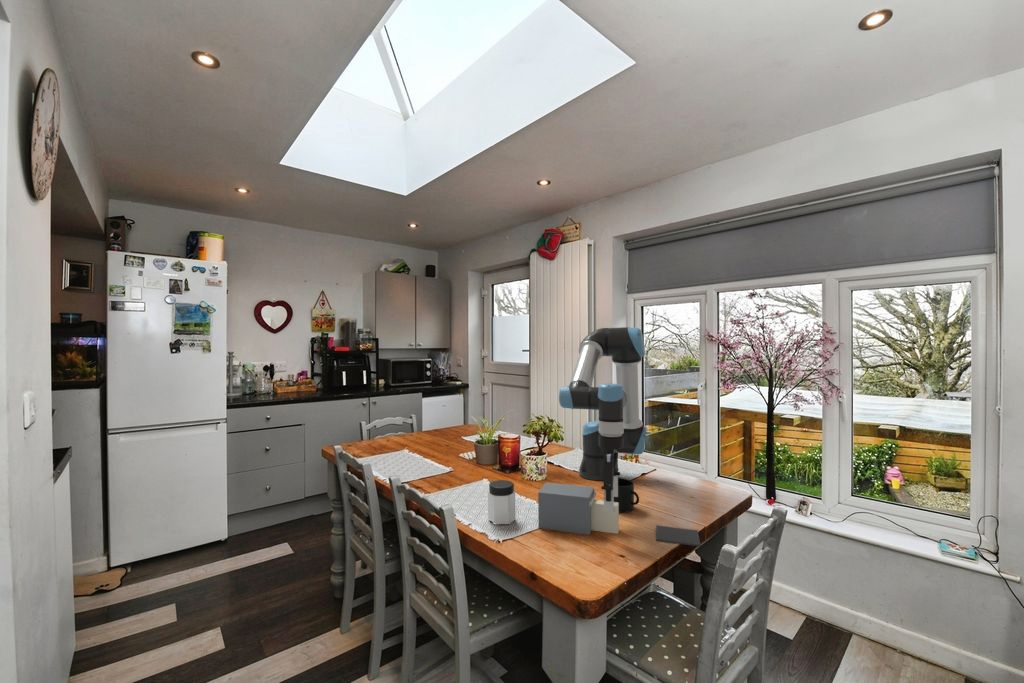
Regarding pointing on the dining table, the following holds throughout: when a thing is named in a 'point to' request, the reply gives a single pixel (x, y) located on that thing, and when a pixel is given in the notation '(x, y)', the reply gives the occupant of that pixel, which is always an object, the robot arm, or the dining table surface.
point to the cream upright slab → (604, 518)
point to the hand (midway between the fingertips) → (611, 503)
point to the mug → (626, 495)
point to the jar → (501, 502)
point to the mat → (677, 535)
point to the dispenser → (565, 507)
